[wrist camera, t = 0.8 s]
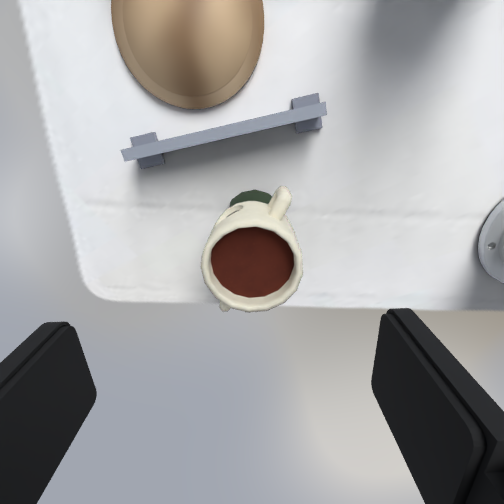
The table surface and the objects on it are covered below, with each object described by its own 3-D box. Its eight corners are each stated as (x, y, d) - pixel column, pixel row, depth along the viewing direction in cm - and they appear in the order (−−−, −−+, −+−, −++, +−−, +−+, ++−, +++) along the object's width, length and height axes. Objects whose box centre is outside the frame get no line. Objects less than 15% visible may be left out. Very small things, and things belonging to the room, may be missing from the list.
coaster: (246, -98, 22) (245, -105, 22) (276, 91, 27) (276, 90, 26) (89, -49, 23) (84, -54, 23) (145, 123, 28) (142, 122, 28)
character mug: (247, 155, 29) (240, 172, 17) (308, 188, 30) (340, 224, 18) (204, 244, 33) (174, 308, 21) (260, 270, 34) (260, 345, 22)
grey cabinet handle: (317, 93, 27) (326, 87, 23) (320, 127, 28) (330, 127, 24) (132, 137, 29) (114, 138, 25) (142, 168, 30) (126, 173, 26)
